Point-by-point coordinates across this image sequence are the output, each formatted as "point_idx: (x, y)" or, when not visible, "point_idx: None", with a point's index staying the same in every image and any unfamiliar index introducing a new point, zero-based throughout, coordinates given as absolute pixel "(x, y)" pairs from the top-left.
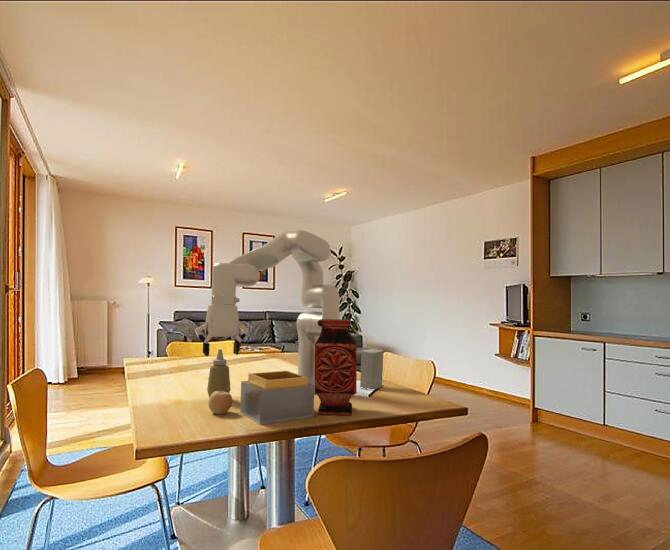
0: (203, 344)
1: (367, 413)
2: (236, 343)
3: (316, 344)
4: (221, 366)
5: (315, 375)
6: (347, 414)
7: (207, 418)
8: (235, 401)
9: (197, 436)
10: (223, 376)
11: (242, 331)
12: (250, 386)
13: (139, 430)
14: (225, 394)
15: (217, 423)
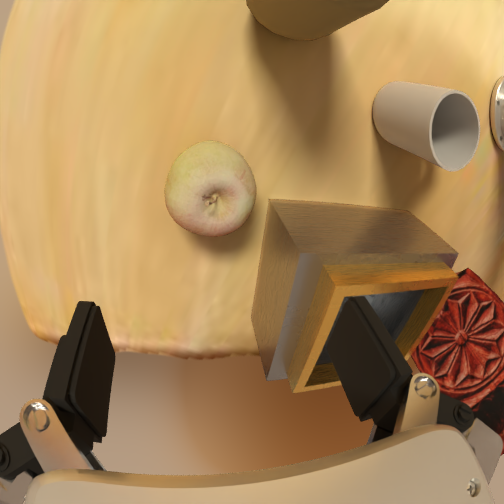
0: (52, 403)
1: None
2: (357, 409)
3: None
4: None
5: (417, 367)
6: None
7: (152, 219)
8: (329, 56)
9: (110, 329)
10: (325, 21)
11: (471, 444)
12: (279, 330)
13: (7, 248)
14: (219, 232)
15: (165, 274)
